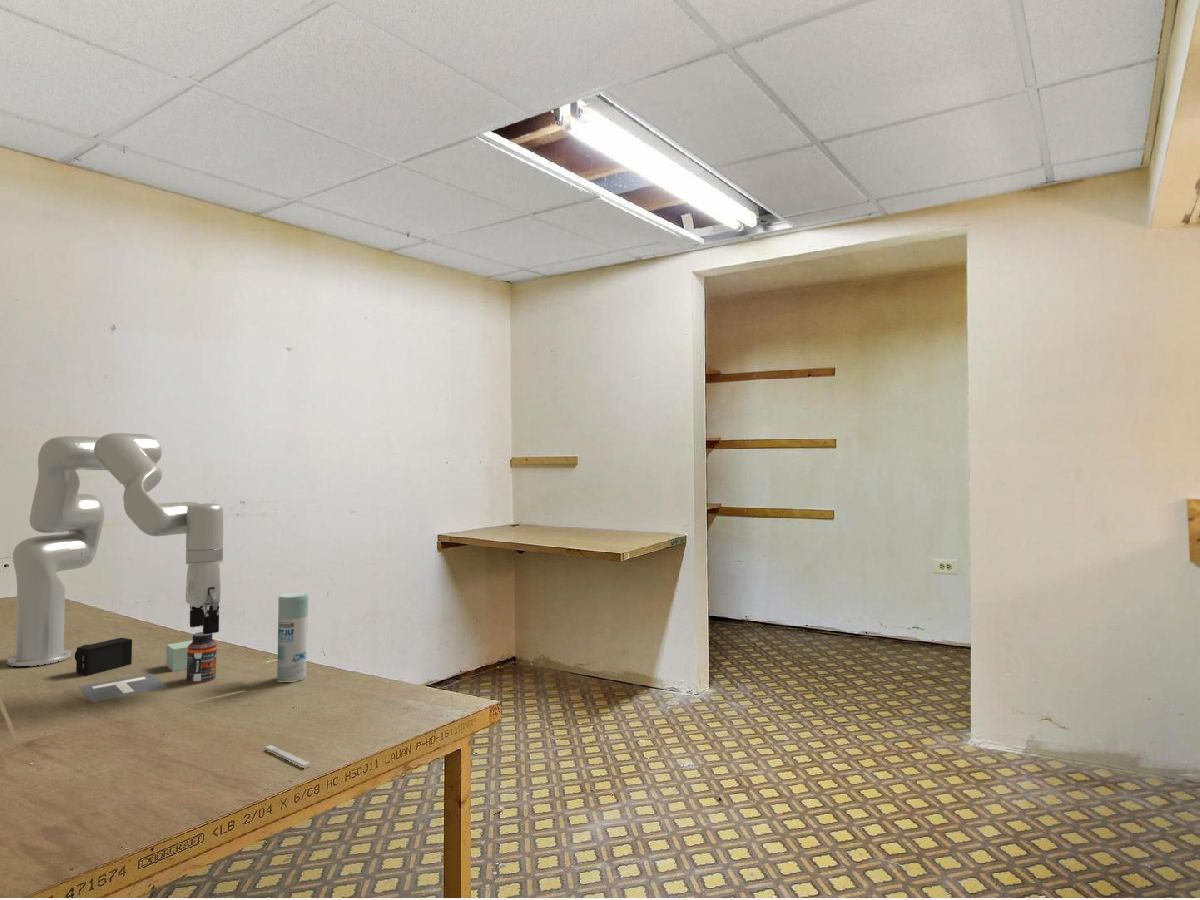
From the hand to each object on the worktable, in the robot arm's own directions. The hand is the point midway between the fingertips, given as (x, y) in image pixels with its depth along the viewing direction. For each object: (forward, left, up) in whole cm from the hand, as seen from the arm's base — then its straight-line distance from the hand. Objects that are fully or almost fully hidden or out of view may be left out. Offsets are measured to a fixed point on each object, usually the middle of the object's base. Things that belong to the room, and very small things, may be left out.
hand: (204, 629), depth 159 cm
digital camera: (-26, -15, -13) cm, 32 cm away
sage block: (-15, 0, -12) cm, 19 cm away
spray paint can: (+12, +16, -13) cm, 23 cm away
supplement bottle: (0, 0, -13) cm, 13 cm away
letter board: (-6, -14, -12) cm, 20 cm away
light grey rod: (+54, -2, -13) cm, 56 cm away
